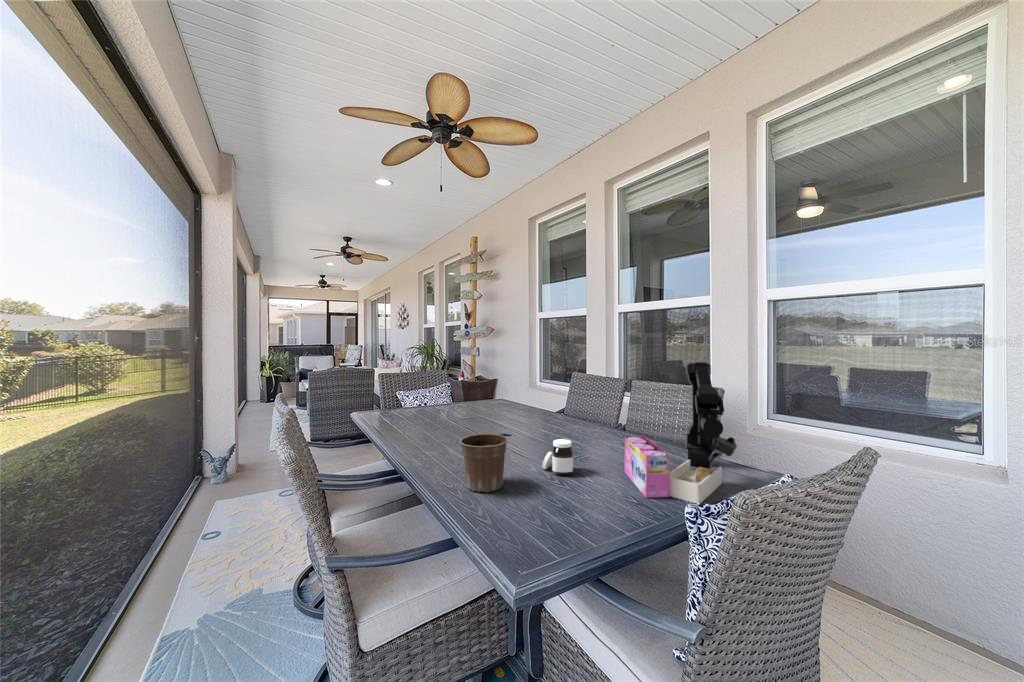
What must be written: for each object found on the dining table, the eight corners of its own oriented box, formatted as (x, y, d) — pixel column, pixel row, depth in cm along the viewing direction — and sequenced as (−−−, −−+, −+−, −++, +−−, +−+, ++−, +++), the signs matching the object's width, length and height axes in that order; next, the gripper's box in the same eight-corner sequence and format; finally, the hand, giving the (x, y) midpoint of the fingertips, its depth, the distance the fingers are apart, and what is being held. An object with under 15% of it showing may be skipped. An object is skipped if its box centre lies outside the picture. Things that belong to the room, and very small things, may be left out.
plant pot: (450, 486, 138) (450, 440, 138) (485, 474, 150) (484, 430, 150) (483, 500, 127) (482, 449, 127) (517, 485, 139) (517, 438, 139)
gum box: (622, 471, 152) (622, 435, 151) (643, 470, 152) (643, 434, 151) (645, 498, 128) (646, 455, 127) (670, 497, 128) (670, 454, 127)
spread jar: (574, 477, 146) (574, 445, 146) (543, 477, 146) (542, 445, 146) (570, 466, 158) (570, 436, 158) (541, 466, 158) (541, 436, 158)
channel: (663, 494, 131) (663, 476, 131) (688, 476, 147) (688, 459, 147) (699, 504, 123) (699, 485, 123) (721, 483, 139) (721, 466, 139)
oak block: (695, 481, 135) (695, 469, 135) (699, 478, 138) (699, 466, 138) (708, 484, 132) (708, 472, 132) (712, 481, 135) (712, 469, 135)
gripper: (725, 439, 125) (725, 489, 125) (741, 427, 138) (741, 472, 139) (688, 433, 132) (688, 480, 133) (707, 422, 146) (706, 465, 146)
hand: (707, 474), depth 137 cm, fingers closed
